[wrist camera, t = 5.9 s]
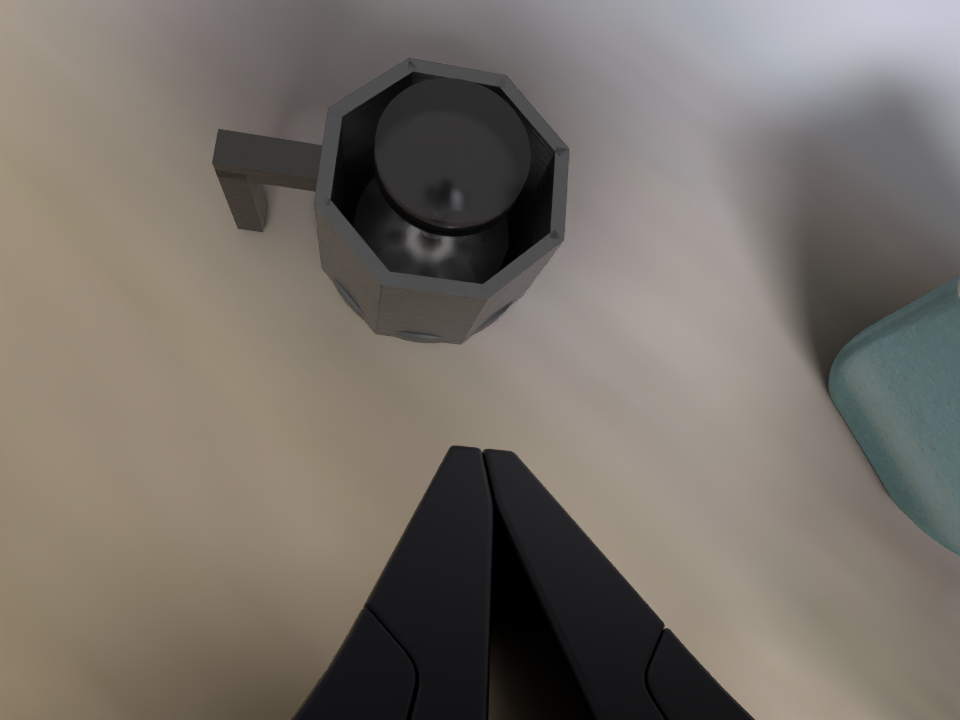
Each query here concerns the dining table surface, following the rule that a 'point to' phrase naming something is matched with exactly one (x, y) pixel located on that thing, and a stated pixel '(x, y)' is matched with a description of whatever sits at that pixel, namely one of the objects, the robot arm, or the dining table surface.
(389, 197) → the dark round piece
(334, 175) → the grey octagonal mug
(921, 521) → the flower pot
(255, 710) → the dining table surface
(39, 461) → the dining table surface
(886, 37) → the dining table surface
